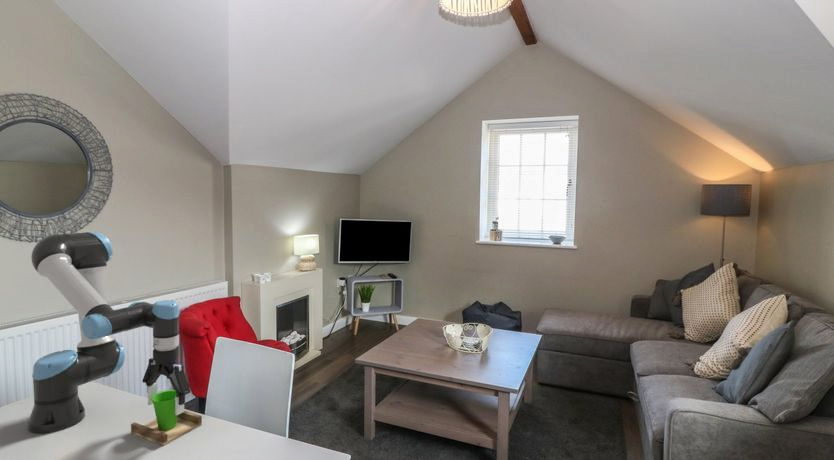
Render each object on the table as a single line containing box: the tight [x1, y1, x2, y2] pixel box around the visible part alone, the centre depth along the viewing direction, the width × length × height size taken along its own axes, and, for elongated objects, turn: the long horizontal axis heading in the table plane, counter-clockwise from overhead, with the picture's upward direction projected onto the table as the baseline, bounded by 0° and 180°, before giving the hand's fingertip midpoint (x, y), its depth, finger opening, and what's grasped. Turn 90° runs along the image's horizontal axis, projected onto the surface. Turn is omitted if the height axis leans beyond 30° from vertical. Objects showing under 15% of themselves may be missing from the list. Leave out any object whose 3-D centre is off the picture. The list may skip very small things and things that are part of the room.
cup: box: [151, 389, 178, 431], centre depth 147 cm, size 9×9×11 cm
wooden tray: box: [130, 410, 203, 446], centre depth 148 cm, size 16×14×3 cm
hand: (165, 408), depth 148 cm, fingers open, 13 cm apart
